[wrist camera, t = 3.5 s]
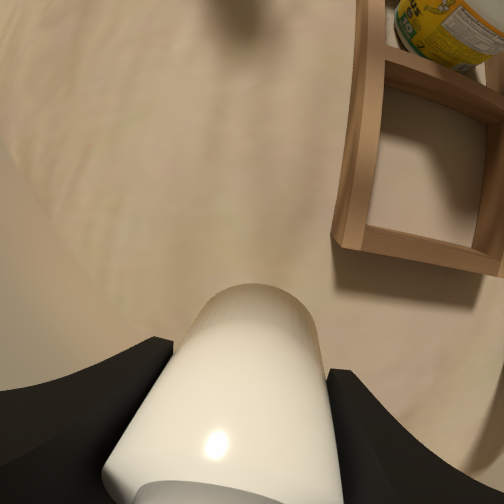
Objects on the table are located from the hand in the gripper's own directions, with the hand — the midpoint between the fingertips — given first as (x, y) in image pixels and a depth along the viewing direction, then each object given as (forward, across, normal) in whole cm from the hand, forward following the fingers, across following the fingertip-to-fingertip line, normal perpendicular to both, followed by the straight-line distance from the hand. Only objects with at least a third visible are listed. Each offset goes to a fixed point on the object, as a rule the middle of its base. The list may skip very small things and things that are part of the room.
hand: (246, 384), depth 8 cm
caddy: (+8, -8, -12) cm, 16 cm away
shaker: (+2, 0, 0) cm, 2 cm away
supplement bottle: (+8, -8, -16) cm, 20 cm away
